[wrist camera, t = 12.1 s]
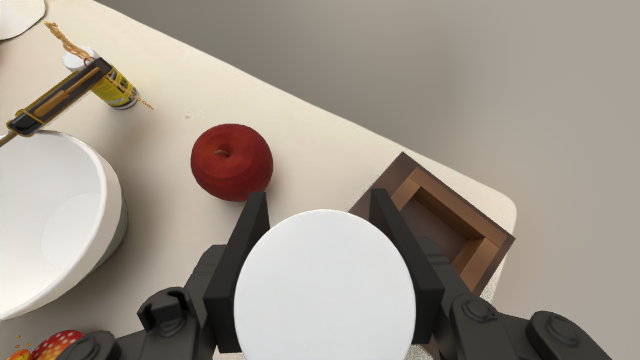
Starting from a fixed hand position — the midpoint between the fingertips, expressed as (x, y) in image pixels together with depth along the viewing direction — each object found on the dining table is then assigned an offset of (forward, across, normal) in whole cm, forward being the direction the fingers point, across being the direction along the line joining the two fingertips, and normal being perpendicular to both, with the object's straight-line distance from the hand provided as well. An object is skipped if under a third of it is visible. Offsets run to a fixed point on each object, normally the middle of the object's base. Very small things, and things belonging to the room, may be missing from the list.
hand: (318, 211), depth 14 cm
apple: (+21, -10, -8) cm, 25 cm away
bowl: (+16, -31, -12) cm, 37 cm away
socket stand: (+14, +10, -15) cm, 23 cm away
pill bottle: (0, 0, -5) cm, 5 cm away
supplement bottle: (+32, -31, +3) cm, 45 cm away
